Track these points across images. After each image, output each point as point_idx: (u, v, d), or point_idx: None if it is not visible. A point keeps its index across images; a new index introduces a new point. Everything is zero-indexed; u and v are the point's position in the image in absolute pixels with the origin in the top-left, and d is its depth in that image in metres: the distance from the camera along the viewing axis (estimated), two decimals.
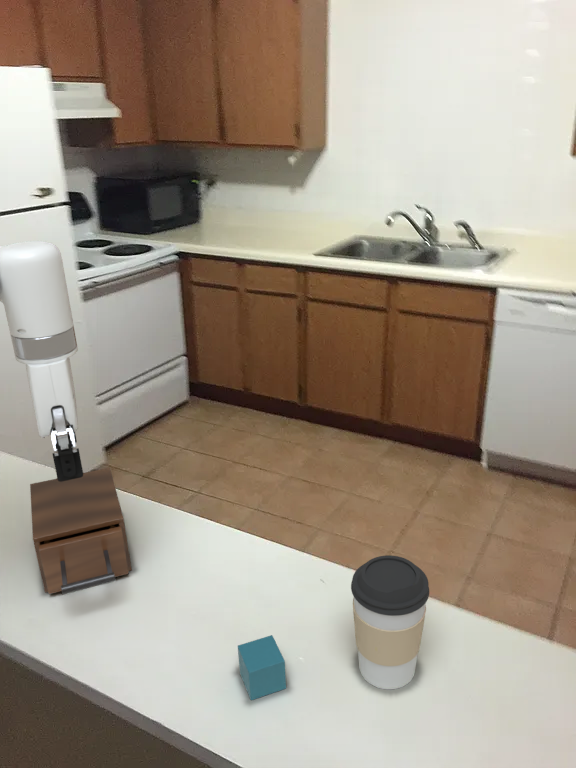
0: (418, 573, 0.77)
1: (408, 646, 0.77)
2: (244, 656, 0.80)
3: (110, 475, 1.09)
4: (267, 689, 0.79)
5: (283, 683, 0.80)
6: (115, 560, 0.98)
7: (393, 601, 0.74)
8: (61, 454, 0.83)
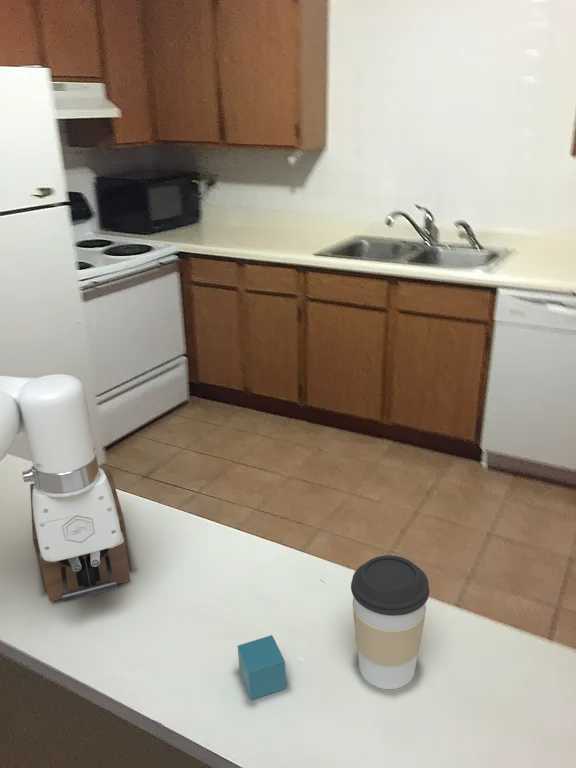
0: (418, 573, 0.77)
1: (408, 646, 0.77)
2: (244, 656, 0.80)
3: (110, 475, 1.09)
4: (267, 689, 0.79)
5: (283, 683, 0.80)
6: (117, 567, 0.96)
7: (393, 601, 0.74)
8: None
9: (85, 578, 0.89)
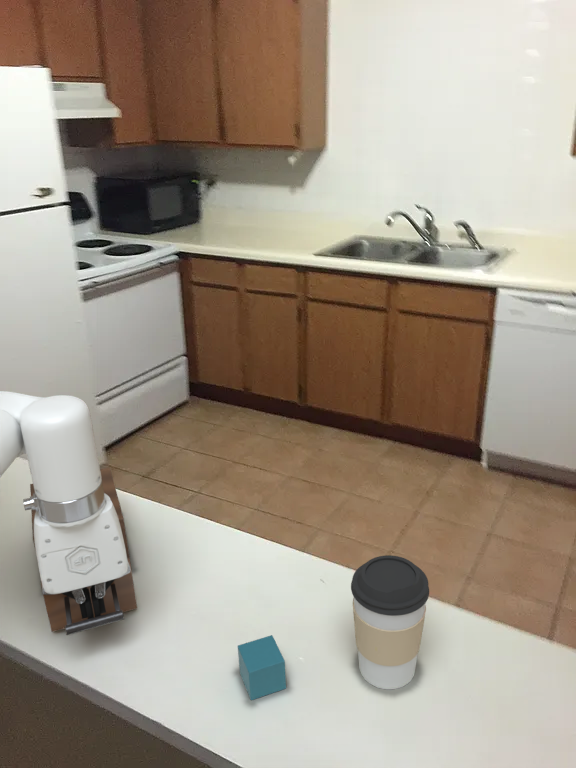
0: (418, 573, 0.77)
1: (408, 646, 0.77)
2: (244, 656, 0.80)
3: (110, 475, 1.09)
4: (267, 689, 0.79)
5: (283, 683, 0.80)
6: (123, 594, 0.91)
7: (393, 601, 0.74)
8: (104, 590, 0.85)
9: (89, 610, 0.84)
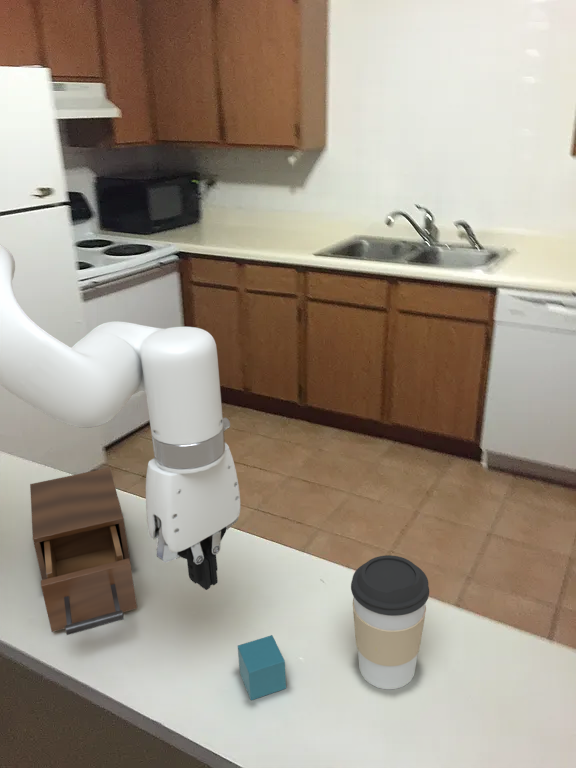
0: (418, 573, 0.77)
1: (408, 646, 0.77)
2: (244, 656, 0.80)
3: (110, 475, 1.09)
4: (267, 689, 0.79)
5: (283, 683, 0.80)
6: (123, 594, 0.91)
7: (393, 601, 0.74)
8: None
9: None
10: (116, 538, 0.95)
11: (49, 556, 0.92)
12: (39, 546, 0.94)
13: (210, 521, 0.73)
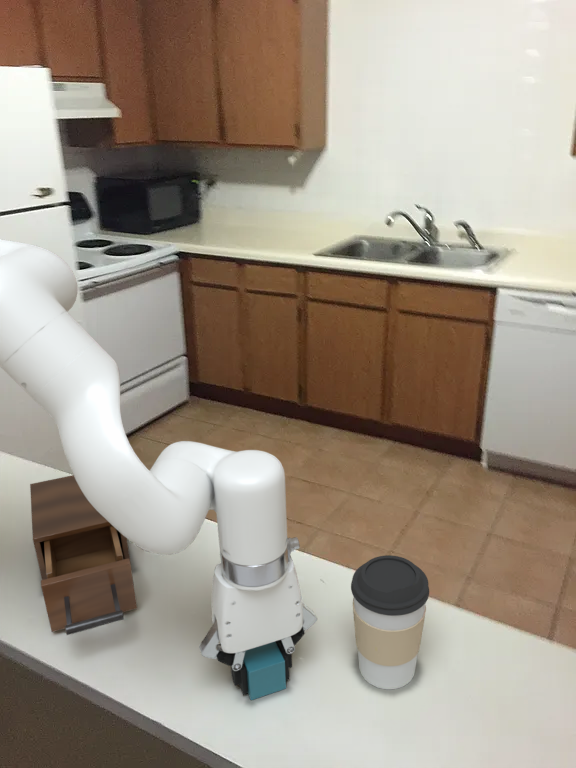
0: (418, 573, 0.77)
1: (408, 646, 0.77)
2: (244, 656, 0.80)
3: None
4: (267, 689, 0.79)
5: (283, 683, 0.80)
6: (123, 594, 0.91)
7: (393, 601, 0.74)
8: None
9: None
10: (116, 538, 0.95)
11: (49, 556, 0.92)
12: (39, 546, 0.94)
13: (265, 632, 0.76)
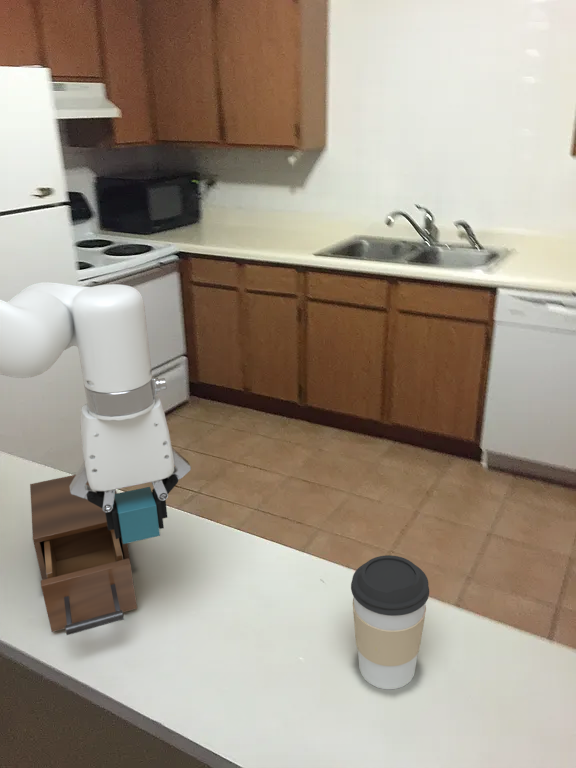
0: (418, 573, 0.77)
1: (408, 646, 0.77)
2: (117, 501, 0.81)
3: None
4: (140, 533, 0.81)
5: (156, 530, 0.82)
6: (123, 594, 0.91)
7: (393, 601, 0.74)
8: None
9: None
10: None
11: (49, 556, 0.92)
12: (39, 546, 0.94)
13: (133, 471, 0.78)
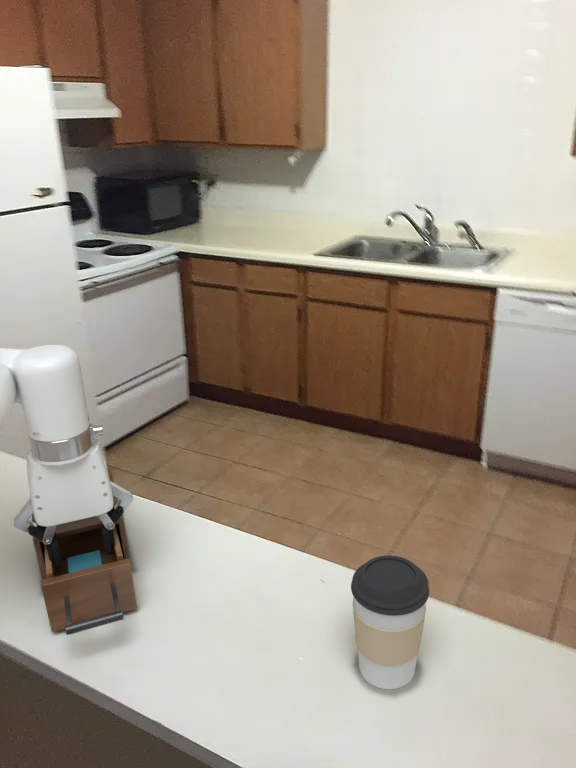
0: (418, 573, 0.77)
1: (408, 646, 0.77)
2: (69, 565, 0.93)
3: (110, 475, 1.09)
4: None
5: None
6: (123, 594, 0.91)
7: (393, 601, 0.74)
8: None
9: None
10: (116, 538, 0.95)
11: None
12: (39, 546, 0.94)
13: (74, 508, 0.87)
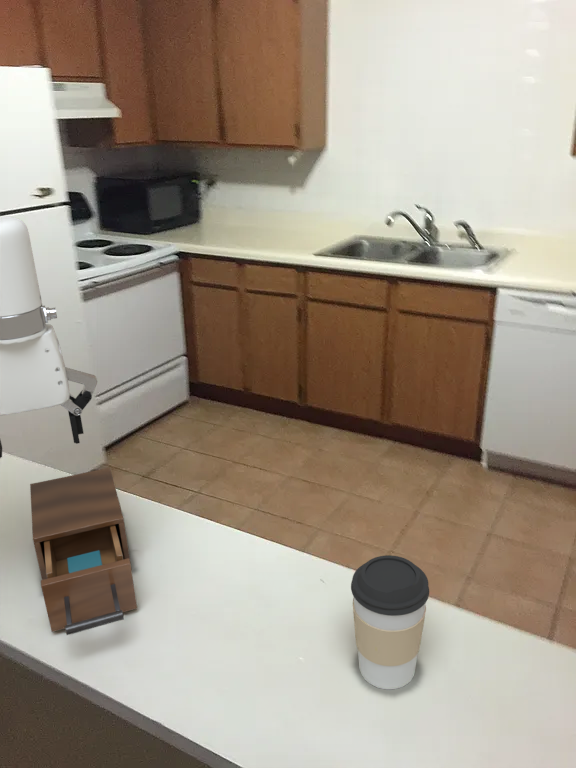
0: (418, 573, 0.77)
1: (408, 646, 0.77)
2: (69, 565, 0.93)
3: (110, 475, 1.09)
4: None
5: None
6: (123, 594, 0.91)
7: (393, 601, 0.74)
8: None
9: None
10: (116, 538, 0.95)
11: (49, 556, 0.92)
12: (39, 546, 0.94)
13: (27, 395, 0.82)
